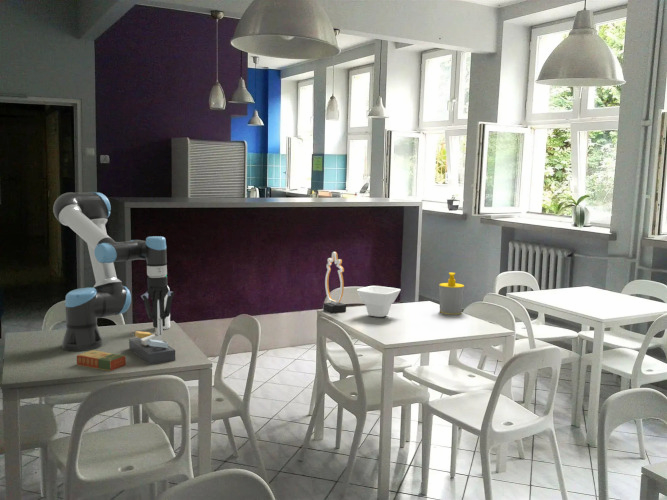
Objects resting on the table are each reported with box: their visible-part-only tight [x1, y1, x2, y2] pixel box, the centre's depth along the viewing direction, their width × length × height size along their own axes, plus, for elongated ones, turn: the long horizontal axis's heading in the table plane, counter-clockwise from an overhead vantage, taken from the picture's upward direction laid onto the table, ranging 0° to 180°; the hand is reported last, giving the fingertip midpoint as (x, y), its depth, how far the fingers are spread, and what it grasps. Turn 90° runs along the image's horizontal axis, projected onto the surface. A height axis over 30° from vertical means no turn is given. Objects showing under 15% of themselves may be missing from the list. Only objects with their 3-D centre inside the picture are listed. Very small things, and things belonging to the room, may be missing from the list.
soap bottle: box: [438, 272, 465, 315], centre depth 328 cm, size 13×13×21 cm
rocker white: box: [141, 333, 163, 345], centre depth 241 cm, size 7×4×2 cm, turn 125°
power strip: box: [128, 337, 176, 365], centre depth 245 cm, size 10×33×5 cm, turn 35°
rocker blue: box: [147, 339, 170, 348], centre depth 235 cm, size 7×4×2 cm, turn 125°
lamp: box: [322, 251, 347, 314], centre depth 325 cm, size 17×9×32 cm, turn 31°
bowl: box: [356, 285, 401, 318], centre depth 315 cm, size 19×19×14 cm
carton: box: [76, 349, 127, 372], centre depth 227 cm, size 8×16×4 cm, turn 67°
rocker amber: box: [134, 330, 155, 338], centre depth 248 cm, size 7×4×2 cm, turn 125°
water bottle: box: [154, 274, 171, 330], centre depth 283 cm, size 7×7×25 cm
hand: (159, 335), depth 243 cm, fingers closed, pressing on rocker white
